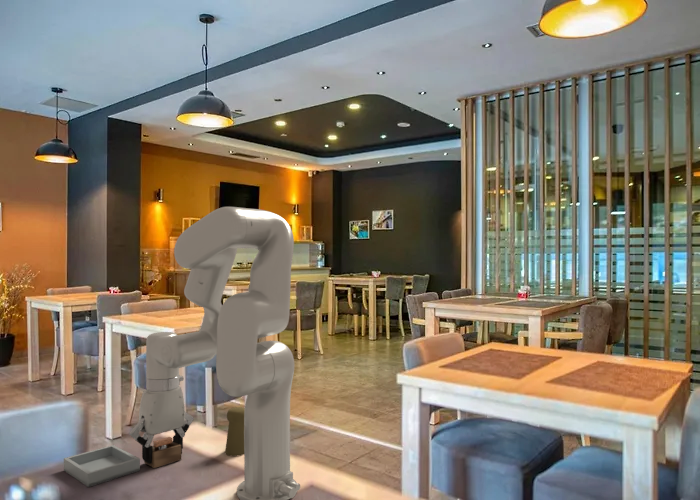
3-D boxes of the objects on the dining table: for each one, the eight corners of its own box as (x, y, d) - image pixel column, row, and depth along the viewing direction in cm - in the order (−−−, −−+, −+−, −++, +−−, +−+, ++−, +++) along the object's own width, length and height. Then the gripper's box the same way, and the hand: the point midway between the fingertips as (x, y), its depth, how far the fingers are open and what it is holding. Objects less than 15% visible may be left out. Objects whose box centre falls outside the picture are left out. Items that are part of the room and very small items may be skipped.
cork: (235, 457, 131) (235, 413, 131) (220, 452, 135) (220, 408, 135) (254, 450, 136) (254, 407, 136) (238, 445, 139) (238, 403, 139)
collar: (171, 454, 133) (171, 437, 133) (181, 459, 129) (181, 441, 129) (144, 462, 127) (144, 444, 127) (154, 468, 124) (154, 449, 124)
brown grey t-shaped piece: (172, 460, 129) (172, 438, 129) (156, 465, 126) (156, 442, 126) (168, 458, 131) (168, 436, 131) (152, 463, 127) (152, 441, 128)
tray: (139, 470, 123) (139, 458, 123) (88, 487, 115) (88, 474, 115) (113, 456, 132) (113, 444, 132) (63, 470, 124) (63, 458, 124)
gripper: (186, 375, 138) (187, 444, 137) (120, 388, 125) (120, 464, 125) (202, 379, 133) (203, 451, 132) (135, 393, 120) (135, 472, 119)
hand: (163, 457), depth 128 cm, fingers closed on collar, 7 cm apart
